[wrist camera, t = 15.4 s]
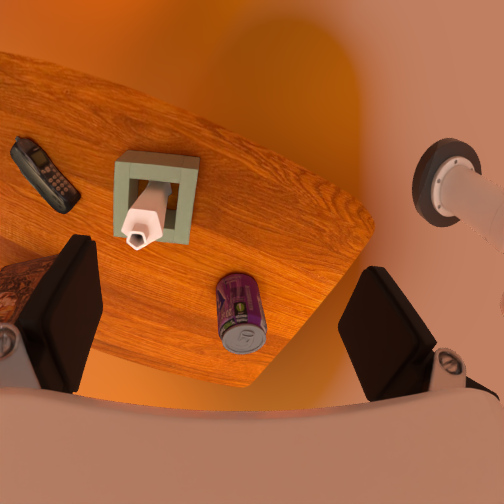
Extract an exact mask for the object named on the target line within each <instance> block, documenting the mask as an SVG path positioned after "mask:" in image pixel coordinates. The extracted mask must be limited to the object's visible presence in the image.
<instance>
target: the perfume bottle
mask: <svg viewBox="0 0 504 504" xmlns="http://www.w3.org/2000/svg"><path fill="white" fill-rule="evenodd" d="M171 194H172V189H171V184H170V182H162V181H152V180H149V182H148V185H147V187H146V189H145V190H144V191H143V192H142V194H141V195H140V196H139V197H138V199H137V200H136V201H135V203H134V204H133V205H132V206H131V208H130V209H129V211H128V213H127V216H126V219H125V221H124V224H123V227H122V229H121V231H122V232H123V233H124V234H125V235H126V236H127V240H126V242H127V243H128V244H129V245H130V246H131V247H133V248H134V249H135V250H139V249H141V248H143V247H145V246H146V245H147V244H149V243H151V242H153V241H155V240H157V239H159V238H161V237H162V236H163V229H164V221H165V214H166V207H167V200H168V196H169V195H171Z"/></svg>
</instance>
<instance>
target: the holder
mask: <svg viewBox="0 0 504 504" xmlns="http://www.w3.org/2000/svg"><path fill="white" fill-rule="evenodd" d="M199 163H200V157H192V156H184V155H175V154H166V153H156V152H145V151H133V150H127V151H126V152H125V153H124V154H123V155H122V156H120V157H119V158H118V159H117V160H116V161H115V171H114V205H113V225H114V236H116V237H125V238H127V236H126V235H125V234H124V233H123V232H122V231H121V229H122V227H123V224H124V221H125V219H126V216H127V213H128V211H129V209H130V208H131V206H132V205H133V204H134V203H135V201H136V200H137V199H138V183H139V179H142V180H152V181H162V182H171V183H180V185H179V193H178V202H177V210H170V209H166V214H165V221H164V229H163V236H162V237H161V238H159V239H157V240H155V241H160V242H169V243H178V244H187V245H188V244H189V236H190V228H191V220H192V212H193V205H194V197H195V190H196V183H197V177H198V170H199Z"/></svg>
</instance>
